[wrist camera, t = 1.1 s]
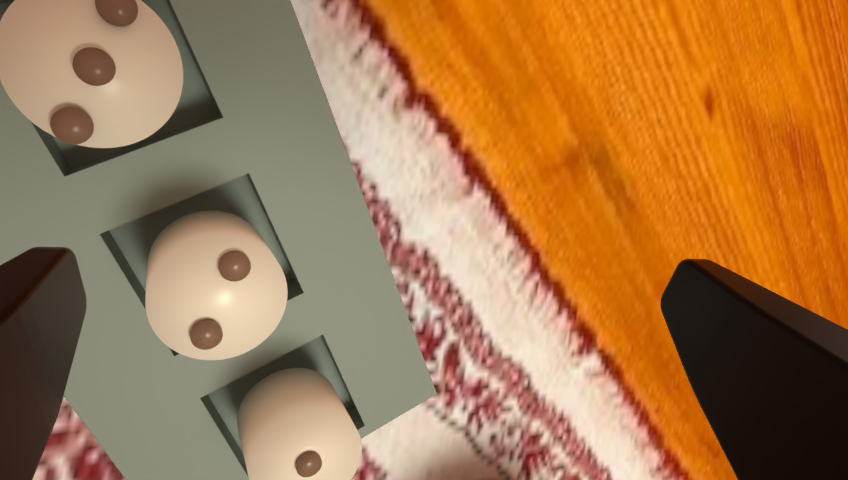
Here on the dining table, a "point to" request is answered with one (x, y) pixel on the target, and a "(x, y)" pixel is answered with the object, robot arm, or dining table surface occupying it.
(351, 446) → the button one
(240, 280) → the button two
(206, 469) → the board
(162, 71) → the button three
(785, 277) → the dining table surface
